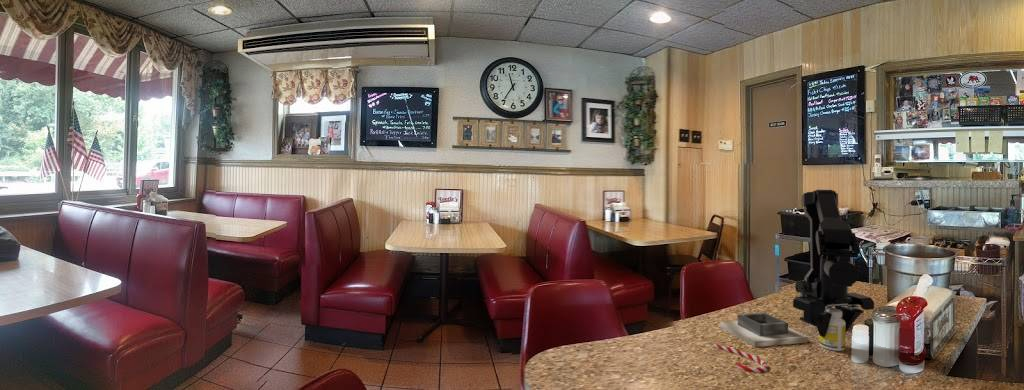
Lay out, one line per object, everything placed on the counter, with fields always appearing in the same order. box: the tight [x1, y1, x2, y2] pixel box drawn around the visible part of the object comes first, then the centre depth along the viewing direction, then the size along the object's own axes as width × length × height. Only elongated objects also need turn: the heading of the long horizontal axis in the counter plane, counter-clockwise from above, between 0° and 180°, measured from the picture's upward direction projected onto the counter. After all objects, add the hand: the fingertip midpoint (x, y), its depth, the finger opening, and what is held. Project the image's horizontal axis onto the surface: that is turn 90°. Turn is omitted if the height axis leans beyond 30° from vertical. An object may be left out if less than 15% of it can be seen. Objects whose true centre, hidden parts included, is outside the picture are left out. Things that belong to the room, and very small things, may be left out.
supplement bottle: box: [818, 307, 846, 352], centre depth 108 cm, size 5×5×10 cm
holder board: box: [719, 312, 809, 348], centre depth 117 cm, size 16×14×4 cm
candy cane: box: [712, 343, 769, 374], centre depth 103 cm, size 8×1×15 cm
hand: (831, 335), depth 108 cm, fingers closed on supplement bottle, 5 cm apart
